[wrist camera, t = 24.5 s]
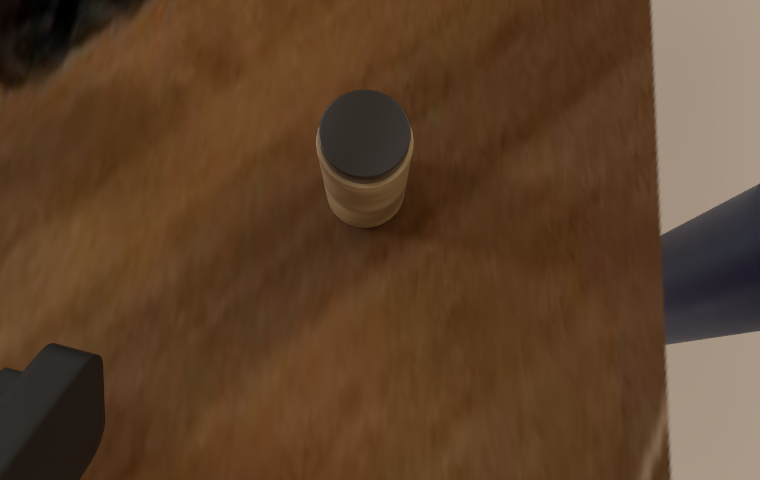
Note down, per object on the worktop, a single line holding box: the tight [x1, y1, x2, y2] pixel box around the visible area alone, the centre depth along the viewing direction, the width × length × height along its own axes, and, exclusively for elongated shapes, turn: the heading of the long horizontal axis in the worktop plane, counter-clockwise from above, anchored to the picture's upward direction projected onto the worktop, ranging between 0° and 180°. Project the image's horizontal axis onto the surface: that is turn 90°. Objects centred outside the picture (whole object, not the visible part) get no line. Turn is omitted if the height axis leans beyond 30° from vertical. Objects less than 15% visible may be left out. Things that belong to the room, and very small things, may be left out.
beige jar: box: [316, 90, 414, 228], centre depth 39 cm, size 5×5×10 cm
